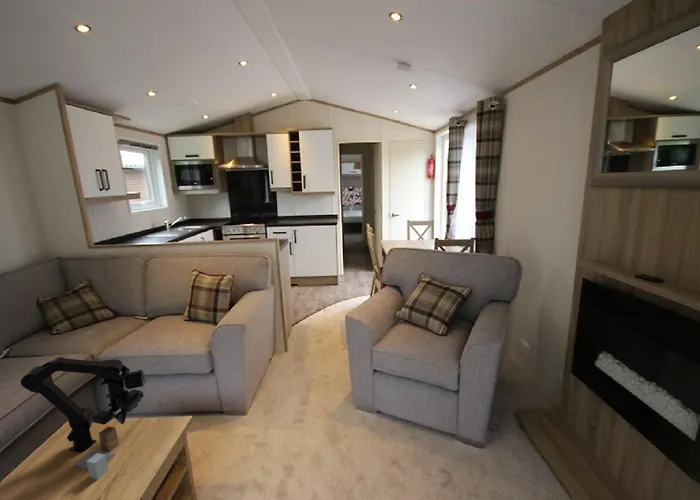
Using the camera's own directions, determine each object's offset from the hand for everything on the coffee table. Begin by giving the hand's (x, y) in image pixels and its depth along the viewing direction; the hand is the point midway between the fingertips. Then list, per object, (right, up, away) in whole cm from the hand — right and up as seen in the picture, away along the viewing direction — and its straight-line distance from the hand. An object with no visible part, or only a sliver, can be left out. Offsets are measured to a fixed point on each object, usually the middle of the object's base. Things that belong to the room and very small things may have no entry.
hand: (122, 423), depth 142 cm
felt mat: (-3, -8, -11) cm, 14 cm away
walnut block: (-2, -7, -5) cm, 9 cm away
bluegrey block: (+3, -10, -18) cm, 20 cm away
